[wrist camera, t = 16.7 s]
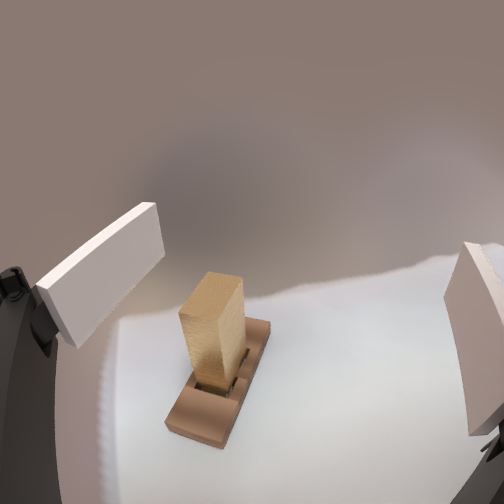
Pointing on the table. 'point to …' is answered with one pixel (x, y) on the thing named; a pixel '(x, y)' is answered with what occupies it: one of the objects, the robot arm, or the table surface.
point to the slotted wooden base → (215, 407)
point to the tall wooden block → (215, 331)
